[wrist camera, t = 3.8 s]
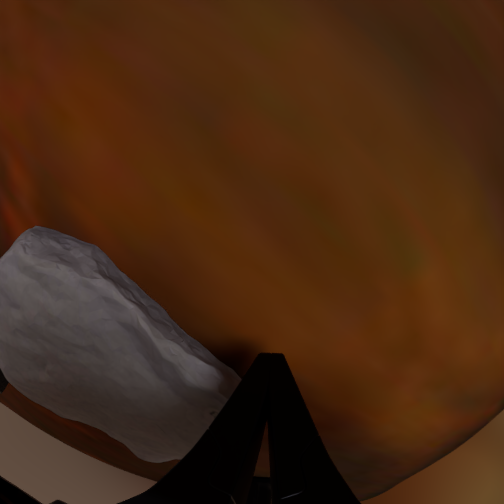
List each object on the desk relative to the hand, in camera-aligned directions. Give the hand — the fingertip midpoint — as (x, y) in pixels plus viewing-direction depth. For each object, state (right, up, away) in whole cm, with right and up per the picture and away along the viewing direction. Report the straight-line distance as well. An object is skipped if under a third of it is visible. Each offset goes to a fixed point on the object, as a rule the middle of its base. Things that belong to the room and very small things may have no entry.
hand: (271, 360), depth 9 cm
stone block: (-7, 0, +3) cm, 7 cm away
